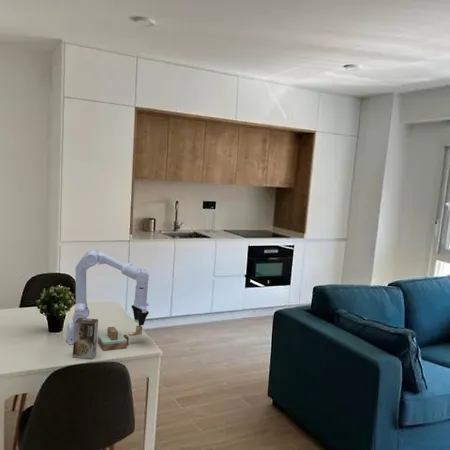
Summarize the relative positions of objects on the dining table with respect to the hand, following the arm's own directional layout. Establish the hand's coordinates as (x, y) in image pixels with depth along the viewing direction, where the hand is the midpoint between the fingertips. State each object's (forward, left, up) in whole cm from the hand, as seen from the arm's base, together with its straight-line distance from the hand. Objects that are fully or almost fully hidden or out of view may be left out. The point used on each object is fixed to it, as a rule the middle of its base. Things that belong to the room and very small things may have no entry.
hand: (138, 322), depth 218 cm
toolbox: (-12, 0, -10) cm, 16 cm away
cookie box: (-27, -8, -11) cm, 30 cm away
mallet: (-1, 0, -6) cm, 6 cm away
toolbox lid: (-13, 0, -7) cm, 15 cm away
